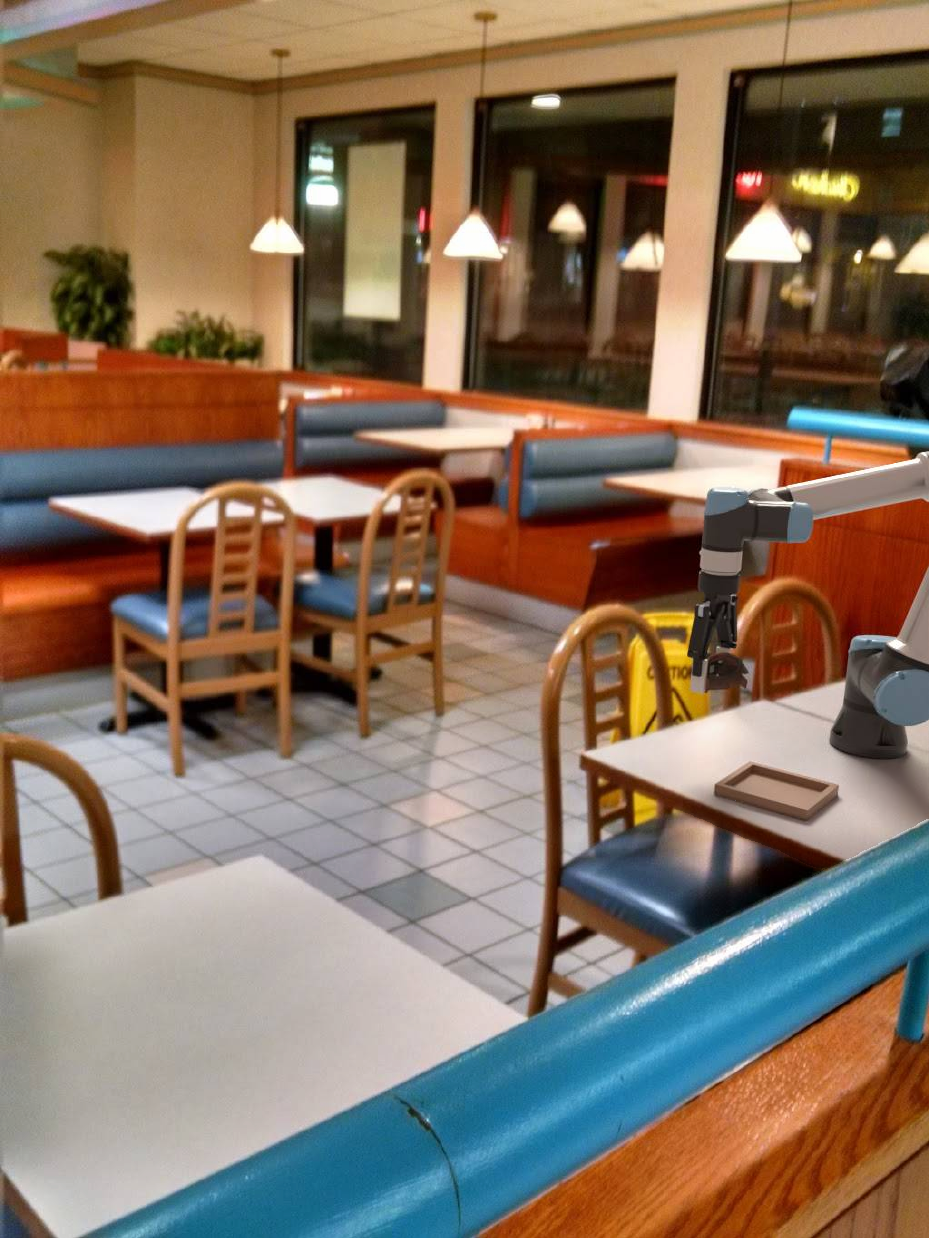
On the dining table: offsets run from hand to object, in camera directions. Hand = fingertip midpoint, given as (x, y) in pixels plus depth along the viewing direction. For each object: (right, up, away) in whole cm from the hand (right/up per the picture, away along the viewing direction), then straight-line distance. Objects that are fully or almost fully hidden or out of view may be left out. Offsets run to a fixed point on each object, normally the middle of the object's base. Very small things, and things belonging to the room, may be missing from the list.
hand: (709, 685), depth 231 cm
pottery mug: (+2, -1, -1) cm, 2 cm away
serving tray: (+10, -19, -11) cm, 24 cm away
